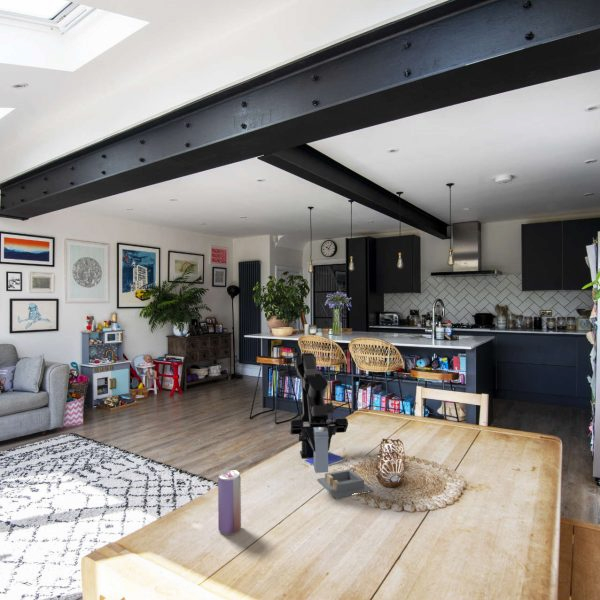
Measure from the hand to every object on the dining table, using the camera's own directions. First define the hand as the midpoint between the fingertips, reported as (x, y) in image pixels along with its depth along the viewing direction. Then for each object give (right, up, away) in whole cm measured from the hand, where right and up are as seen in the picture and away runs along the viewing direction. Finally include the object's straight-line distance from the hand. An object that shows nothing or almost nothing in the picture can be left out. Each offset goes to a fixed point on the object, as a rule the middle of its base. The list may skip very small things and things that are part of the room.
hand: (321, 450), depth 137 cm
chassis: (+8, -13, +5) cm, 16 cm away
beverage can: (-26, -14, -21) cm, 36 cm away
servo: (0, -7, +2) cm, 7 cm away
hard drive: (+2, -14, +26) cm, 29 cm away
